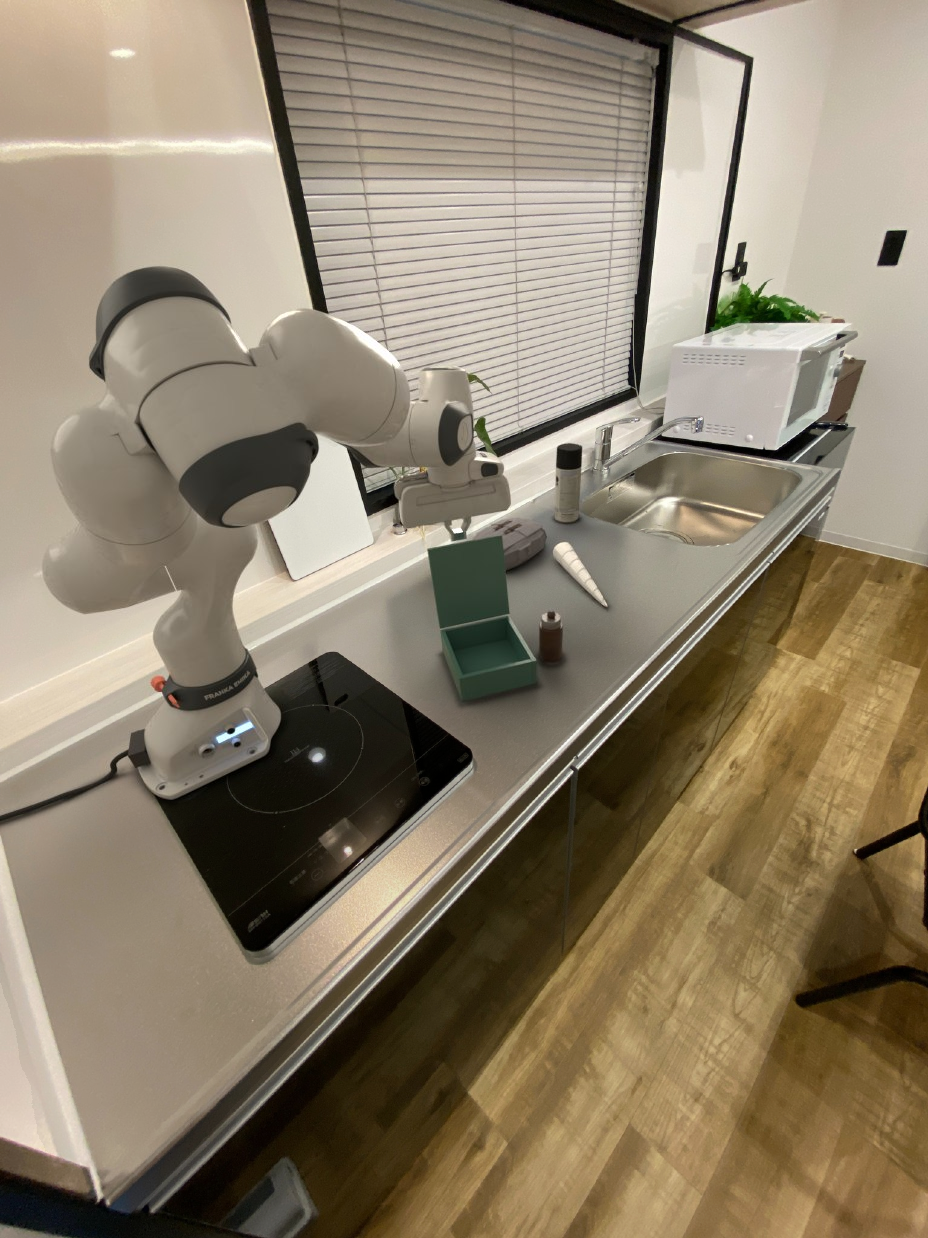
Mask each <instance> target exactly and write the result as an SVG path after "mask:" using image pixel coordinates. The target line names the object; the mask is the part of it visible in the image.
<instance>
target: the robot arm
mask: <svg viewBox="0 0 928 1238" xmlns="http://www.w3.org/2000/svg"><path fill="white" fill-rule="evenodd" d="M95 315H96V316H95V343H94V345H93V348H92V349H91V351H90V354H89V356H88V366H89V369H90V371H91V372H92V373H93V374H94V376H95V375H96V377H98V378H99V379H101V380H102V381H103V382H104V383H105V393H104V395H103V397H102V398H101V400H99V401H98V402H96V403H94V404H90V405H88V406H83V407H81V408H78V409H77V410H74V411H72V412H70V413H69V414H68V415H66V416H65V417H64V418H63V420H61V422H60V423H59V424H58V426H57V427H56V428H55V430H54V432H53V434H52V437H51V441H50V459H51V465H52V469H53V473H54V477H55V480H56V483H57V486H58V489H59V491H60V494H61V495H62V497H63V499H64V502H65V503H66V505H67V506H68V508H69V510H70V511H71V513H72V514H73V516H74V517H75V518H76V519H77V522H79V523H78V524H77V525H76V526H75V527H74V528H73V529H72V530H71V531H70V532H68V533H67V534H66V535H64V536H62V537H61V538H59V539H57V540H55V541H53V542H51V543H50V544H48V546H47V547H46V550H45V552H44V555H43V558H42V564H41V571H42V577H43V581H44V583H45V585H46V587H47V589H48V591H49V592H50V593H51V595H52V596H53V597H54V598H55V599H56V601H58V602H59V603H60V604H62V605H63V606H65V607H66V608H68V609H70V610H72V611H74V612H76V613H79V614H83V615H91V614H96V613H105V612H110V611H115V610H122V609H126V608H131V607H133V606H136V605H139V604H142V603H145V602H148V601H151V600H154V599H157V598H159V597H162V596H166V595H168V594H169V595H170V594H171V593H175V592H178V591H180V593H179V595H178V597H177V598H176V600H175V601H174V602H173V603H172V604H171V605H170V606H169V607H168V608H167V609H166V610H165V611H164V612H163V613H162V614H161V615H160V616H159V618H158V620H157V621H156V624H155V626H154V628H153V632H152V641H153V645H154V647H155V649H156V651H157V653H158V655H159V657H160V658H161V661H162V662H163V664H164V666H165V669H166V670H167V672H168V676H167V679H166V678H165V677H164V676H162V675H155V676H154V677H152V678H151V681H150V686H151V687H152V688H153V689H154V691H155V692H157V693H161V694H162V696H163V698H164V700H165V701H163V703H161V705H160V706H159V708H158V710H157V711H156V712H155V714H154V715H153V716H152V717H151V718H150V720H149V721H148V723H146V724H145V725H146V726H145V728H143V729H139V730H136V731H133V732H130V737H129V744H128V748H127V749H126V750H123V751H122V752H121V753H119V754H117V755H116V756H114V757H113V759H112V760H111V761H110V763H109V767H110V771H109V772H108V773H107V774H106V775H105V776H104V777H102V778H100V779H99V780H97V781H95V782H92V783H89V784H87V785H84V786H81V787H78V788H74V789H71V790H68V791H65V792H62V793H60V794H57V795H55V796H53V797H49V798H47V799H44V800H42V801H40V802H37V803H33V804H30V805H28V806H25V807H21V808H19V809H15V810H13V811H9V812H7V813H4V814H1V815H0V822H3V821H6V820H9V819H12V818H15V817H18V816H21V815H25V814H27V813H30V812H33V811H36V810H39V809H41V808H45V807H47V806H49V805H51V804H54V803H56V802H57V803H58V802H59V801H62V800H65V799H67V798H70V797H73V796H77V795H80V794H83V793H85V792H87V791H90V790H92V789H94V788H96V787H98V786H100V785H102V784H104V783H106V782H108V781H109V780H111V779H112V778H113V777H114V776H115V775H116V774H117V772H118V765H117V764H118V762H119V761H121V760H122V759H124V758H126V757H128V759H129V760H130V763H132V765H133V766H134V768H135V769H137V770H138V773H139V774H140V777H141V779H142V782H143V783H144V785H145V786H146V787H147V789H148V790H149V791H150V792H151V793H153V794H154V796H157V797H159V798H162V799H165V800H170V801H171V800H175V799H178V798H180V797H182V796H184V795H187V794H188V793H191V792H192V791H195V790H197V789H200V788H201V787H203V786H205V785H208V784H209V783H211V782H213V781H216V780H217V779H220V778H222V777H224V776H226V775H228V774H230V773H232V772H234V771H237V770H238V769H241V768H243V767H244V766H246V765H249V764H251V763H253V762H254V761H257V760H259V759H261V758H263V757H265V756H266V755H267V754H268V753H269V751H270V749H271V748H270V747H271V742H272V741H271V740H272V738H273V736H274V735H275V734H276V732H277V730H278V728H279V726H280V723H281V720H282V713H281V709H280V707H279V705H278V704H277V703H276V702H275V701H274V700H272V698H271V697H270V695H269V694H268V693H267V691H266V690H265V688H264V687H263V685H262V683H261V681H260V680H259V674H258V671H257V666H256V663H255V661H254V659H253V656H252V654H251V653H250V651H249V650H248V648H246V647H245V645H244V643H243V641H242V638H241V635H240V633H239V629H238V626H237V623H236V619H235V614H234V605H233V604H234V596H235V591H236V587H237V585H238V582H239V580H240V577H241V576H242V574H243V572H244V571H245V569H246V568H247V567H248V565H250V563H251V561H253V559H254V557H255V555H256V552H257V549H258V543H259V534H258V529H257V526H256V525H258V524H261V523H264V522H266V521H269V520H271V519H273V518H275V517H277V516H279V514H281V513H282V512H284V511H285V510H287V509H288V508H290V507H291V506H292V505H293V504H294V503H295V502H297V500H298V499H299V497H300V496H301V494H302V492H303V490H304V489H305V486H306V484H307V482H308V480H309V477H310V475H311V467H312V465H313V463H314V461H315V460H316V458H317V456H318V454H319V451H320V445H319V444H320V443H319V438H318V436H321V437H323V438H325V439H328V440H330V441H332V442H334V443H336V444H338V445H340V446H342V447H344V448H346V449H347V450H348V451H349V452H350V453H351V454H352V455H353V457H354V458H355V459H356V460H357V461H358V463H360V465H362V466H363V467H365V468H367V469H382V468H425V469H426V470H424V471H418V472H414V473H410V474H409V473H405V474H401V476H400V477H398V478H396V480H395V482H394V483H393V491H394V496H395V498H396V499H397V500H398V511H399V519H400V521H401V524H402V525H403V527H405V528H406V529H412V528H417V527H424V526H428V525H429V526H430V525H434V524H440V523H442V525H443V527H444V528H445V529H446V530H447V532H448V535H449V539H450V541H451V543H455V542H458V541H462V540H464V541H465V540H467V539H468V536H467V531H468V530H469V528H470V527H471V524H472V518H473V517H479V516H484V515H489V514H495V513H500V512H506V511H508V510H509V508H510V507H511V506H512V498H511V489H510V483H509V480H508V478H507V477H506V476H505V475H504V472H505V465H504V463H503V462H502V460H501V459H500V458H499V457H498V456H496V454H493V453H492V452H488V451H482V450H477V445H476V442H475V440H474V438H475V431H474V430H475V427H474V425H475V416H474V413H475V412H474V404H473V396H472V391H471V386H470V381H469V376H468V373H467V370H466V369H465V368H462V367H460V366H455V365H453V366H452V365H451V366H428V367H424V368H423V369H421V370H420V371H419V373H418V383H417V384H418V390H417V391H418V400H411V389H410V384H409V381H408V377H407V375H406V373H405V371H404V369H403V367H402V365H401V364H400V362H399V361H398V360H397V358H396V357H395V356H394V355H393V353H391V352H390V351H389V350H388V349H387V348H385V347H384V346H383V345H382V344H380V343H379V342H378V341H377V340H375V339H374V338H372V336H370V335H369V334H368V333H366V332H364V331H363V330H361V329H360V328H358V327H357V326H355V325H353V324H351V323H349V322H347V321H345V320H343V319H341V318H339V317H336V316H333V315H331V314H329V313H325V312H323V311H321V310H317V309H313V308H312V309H311V308H295V309H291V310H287V311H285V312H283V313H281V314H279V315H278V316H277V317H275V318H274V319H272V321H271V322H270V323H269V324H268V325H267V327H266V328H265V329H264V331H263V333H262V334H261V337H260V339H259V342H258V346H256V347H251V348H250V347H249V348H248V347H247V346H246V344H245V342H244V340H243V339H242V338H241V337H240V335H239V333H238V332H237V330H236V329H235V328H234V326H233V325H232V321H231V317H230V315H229V313H228V311H227V310H226V309H225V307H224V306H223V305H222V303H221V302H220V301H219V300H218V299H217V297H216V296H215V295H214V293H212V291H211V290H210V289H209V288H208V287H207V286H206V285H205V284H204V283H203V282H202V281H200V280H199V279H198V278H197V277H196V276H194V275H192V274H191V273H190V272H187V271H186V270H183V269H180V268H178V267H172V266H164V265H153V266H145V267H144V266H143V267H140V268H136V269H133V270H130V271H127V272H126V273H123V274H122V275H120V276H119V277H118V278H116V279H115V280H114V281H113V282H112V283H111V284H110V286H109V287H108V288H107V289H106V290H105V292H104V293H103V296H102V297H101V299H100V301H99V304H98V306H97V310H96V314H95ZM317 435H318V436H317ZM456 520H462V523H461V525H460V527H457V528H452V527H451V526H453V522H452V521H456Z"/></svg>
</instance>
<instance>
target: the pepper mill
mask: <svg viewBox="0 0 928 1238" xmlns="http://www.w3.org/2000/svg"><path fill="white" fill-rule="evenodd" d="M538 630H539V631H538V657H539V659H540V660H541V661H542V662H544V663H548V664H550V663H551V664H553V663H557V662H560V661H561V660H562V657H563V638H564V636H563V634H564V624H563V622H562V617H561V614H559V613H558V612H555V611H553V610H549V611H547V612H545V613H543V614H542V615H541V621H540V622H539V624H538Z"/></svg>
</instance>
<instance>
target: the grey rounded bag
mask: <svg viewBox="0 0 928 1238" xmlns="http://www.w3.org/2000/svg"><path fill="white" fill-rule="evenodd" d="M496 535H502V539H503V549H504V560H505V571H509V570H512V569H514V568H516V567H519V566H521V565H523V564H525V563H527V562H528V561H529V560H531V559H532V558H533V557H534V556H536V555H537V554H538V553H540V551H542V550H543V549H544V548H545V546H546V541H547V538H548V536H547V533H546V530H545V528H544V526H543V525H542V524H539V523H538V522H536V521H534V520H532V519H529V518H523V517H513V518H511V517H510V518H506V519H501V520H499V521H496V522H494V523H491V524H490V526H487V527H485V528H483V529H482V530H480V531H478V532H476V534H475V536H474V537H473V538H472V540H475V539H481V538H486V537H491V536H496Z"/></svg>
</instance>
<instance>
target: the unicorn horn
mask: <svg viewBox="0 0 928 1238" xmlns="http://www.w3.org/2000/svg"><path fill="white" fill-rule="evenodd" d="M552 556H553V559H554V560H555V561H557V563H559V565H560V566H561V567H562V568H563V569H564V570H566V572H567V573H568V574H569V575H570V576H571V577H572V578H573V579H574V580H575V581H576V582H577V583H578V584H579V585H580V586H581V587H582V588H584V589H585V590H586V591H587V593H588V594H590V595H591V597H593V598H594V599H595V600H596V601H598V602H599V603H600V604H601V605H603V606H604V607H606V608H608V604H607V601H606V600H605V599H604V596H603V594H602V593H601V591H600V589H599V587H598V586H597V584H596V583H595V580H594V579H593V578H592V576H591V574H590V573H589V571H588V570H587V568H586V567H585V565H584V563H583V562H582V561H581V559H580V557H579V556H578V554H577V553H576V552H575V549H574V548H573V546H572V545H571V544H570V543H569V542H566V541H564V542H560V543H558V544H556V545H555V546H554V548H553V550H552Z"/></svg>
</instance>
